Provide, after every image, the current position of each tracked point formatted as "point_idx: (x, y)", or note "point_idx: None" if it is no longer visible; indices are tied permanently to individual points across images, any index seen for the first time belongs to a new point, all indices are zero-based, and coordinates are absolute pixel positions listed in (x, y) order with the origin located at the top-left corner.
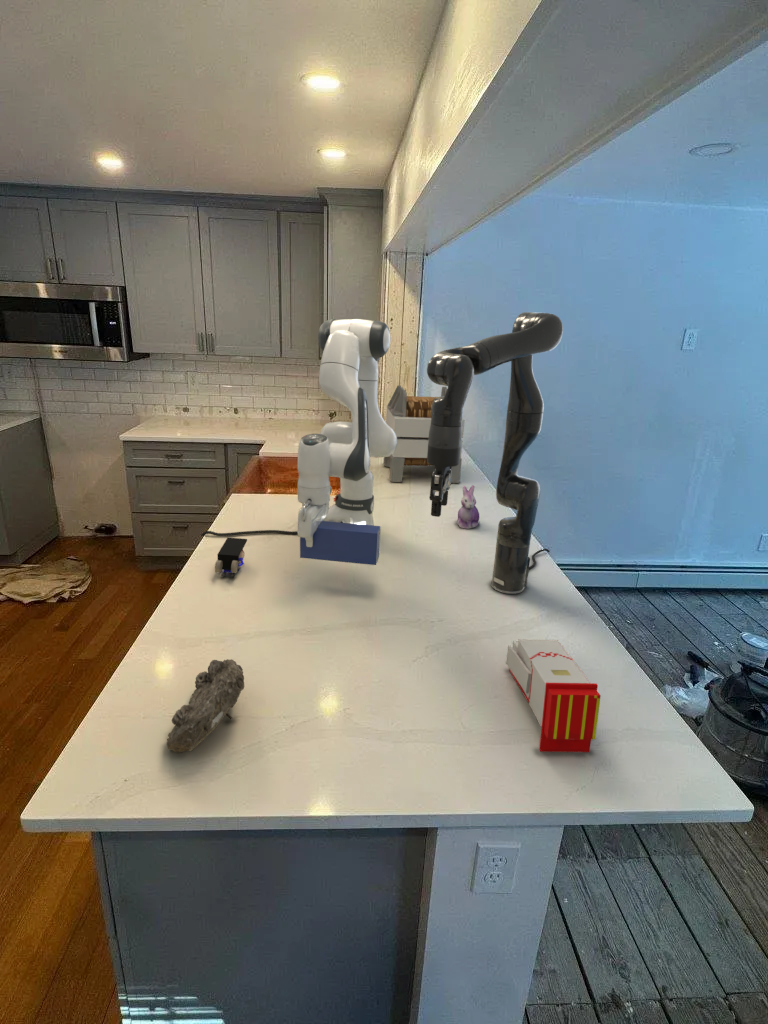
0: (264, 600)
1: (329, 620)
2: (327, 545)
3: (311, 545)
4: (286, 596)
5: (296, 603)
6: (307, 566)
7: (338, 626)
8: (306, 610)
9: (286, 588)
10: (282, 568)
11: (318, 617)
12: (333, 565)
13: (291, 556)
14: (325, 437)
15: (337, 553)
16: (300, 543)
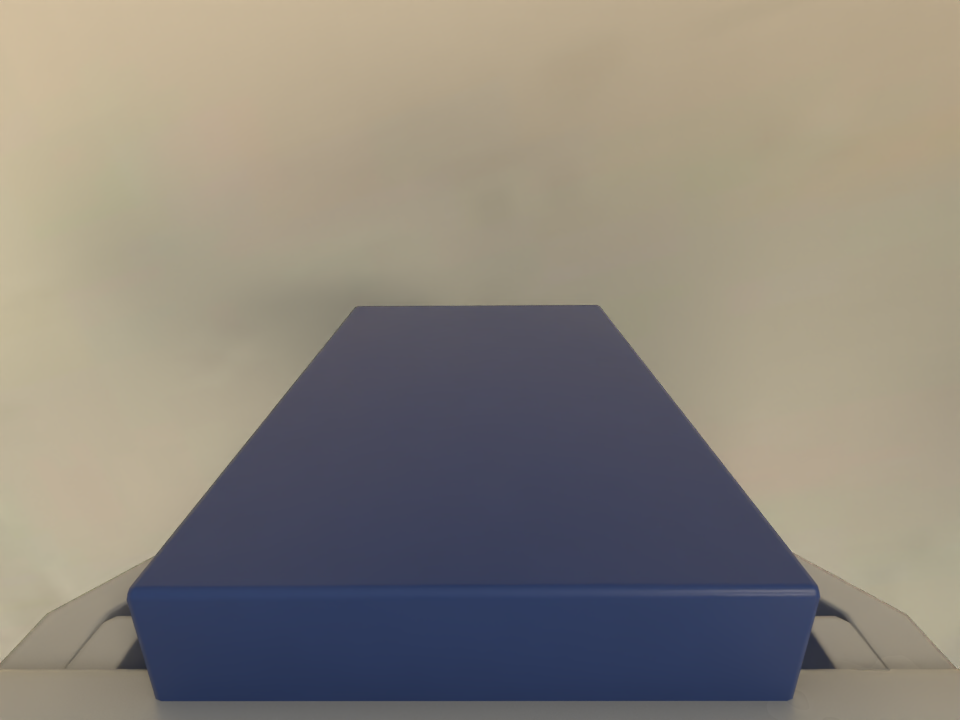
0: (61, 57)
1: (38, 522)
2: None
3: None
4: (187, 208)
5: (127, 304)
6: (710, 222)
7: (8, 570)
8: (75, 386)
9: (301, 169)
10: (648, 8)
11: (37, 466)
12: (744, 406)
13: (922, 10)
14: None
15: None
16: (301, 380)
